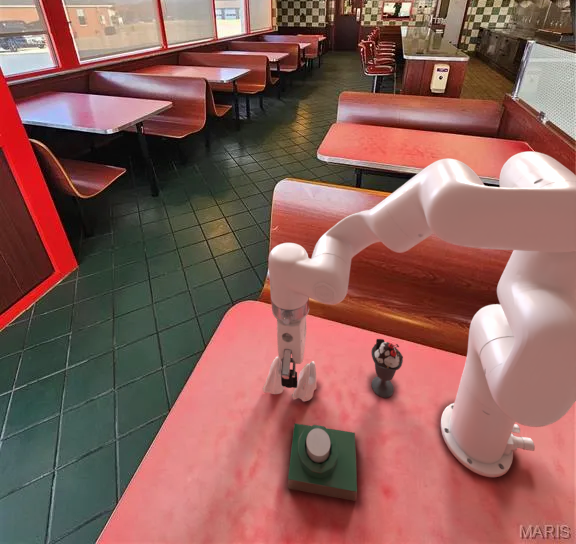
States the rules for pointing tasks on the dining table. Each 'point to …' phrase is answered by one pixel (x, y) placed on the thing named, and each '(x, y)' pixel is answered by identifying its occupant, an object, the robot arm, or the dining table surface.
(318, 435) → the white button cap
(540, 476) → the dining table surface
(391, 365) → the sundae
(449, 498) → the dining table surface
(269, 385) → the shaker set
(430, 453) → the dining table surface
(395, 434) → the dining table surface
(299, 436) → the button base
